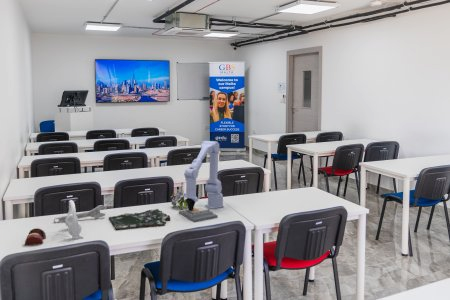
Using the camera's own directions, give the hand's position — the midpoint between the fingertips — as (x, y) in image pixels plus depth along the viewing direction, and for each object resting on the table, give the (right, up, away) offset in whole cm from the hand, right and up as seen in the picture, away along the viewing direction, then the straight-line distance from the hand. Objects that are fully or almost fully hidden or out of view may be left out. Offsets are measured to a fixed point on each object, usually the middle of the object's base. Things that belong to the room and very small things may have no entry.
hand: (190, 210), depth 248 cm
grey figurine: (-60, -8, -28) cm, 67 cm away
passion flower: (-8, -1, +20) cm, 22 cm away
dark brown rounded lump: (-75, -10, -40) cm, 86 cm away
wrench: (-64, -5, -6) cm, 64 cm away
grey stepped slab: (+4, -4, +3) cm, 6 cm away
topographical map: (-28, -6, -8) cm, 30 cm away
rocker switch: (+4, -1, +3) cm, 5 cm away
